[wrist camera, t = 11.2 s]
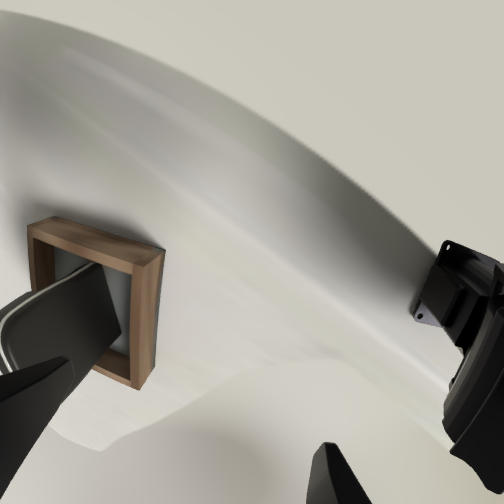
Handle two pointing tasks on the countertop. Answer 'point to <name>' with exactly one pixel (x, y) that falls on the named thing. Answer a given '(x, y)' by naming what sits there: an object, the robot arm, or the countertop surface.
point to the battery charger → (60, 323)
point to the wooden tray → (119, 283)
